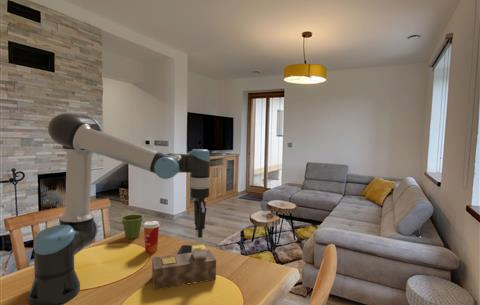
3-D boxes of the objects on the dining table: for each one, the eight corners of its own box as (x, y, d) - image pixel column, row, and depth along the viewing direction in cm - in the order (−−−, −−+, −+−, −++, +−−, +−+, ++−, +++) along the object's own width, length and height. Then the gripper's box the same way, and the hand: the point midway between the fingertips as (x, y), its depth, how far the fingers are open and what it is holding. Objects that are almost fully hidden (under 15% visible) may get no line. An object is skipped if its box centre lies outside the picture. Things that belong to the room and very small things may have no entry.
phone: (197, 245, 140) (191, 258, 125) (197, 247, 140) (191, 261, 125) (182, 245, 140) (174, 258, 125) (182, 247, 141) (174, 260, 126)
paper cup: (142, 248, 136) (142, 221, 136) (158, 246, 140) (158, 219, 139) (143, 255, 129) (144, 226, 129) (160, 252, 133) (160, 224, 132)
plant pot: (147, 234, 156) (147, 215, 155) (134, 242, 144) (134, 221, 144) (130, 231, 159) (130, 213, 158) (116, 239, 148) (116, 219, 147)
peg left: (162, 281, 104) (163, 264, 104) (161, 275, 109) (161, 258, 108) (176, 279, 106) (176, 262, 106) (174, 273, 111) (174, 256, 110)
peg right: (193, 267, 108) (194, 250, 108) (191, 262, 113) (191, 245, 113) (206, 265, 110) (206, 249, 110) (203, 260, 115) (203, 244, 114)
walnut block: (153, 289, 101) (153, 269, 100) (152, 276, 110) (152, 257, 110) (215, 279, 109) (216, 260, 109) (209, 267, 119) (209, 250, 118)
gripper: (213, 190, 105) (212, 249, 106) (205, 184, 117) (204, 237, 118) (194, 190, 102) (193, 251, 104) (187, 184, 114) (187, 239, 116)
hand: (199, 243), depth 111 cm, fingers closed
